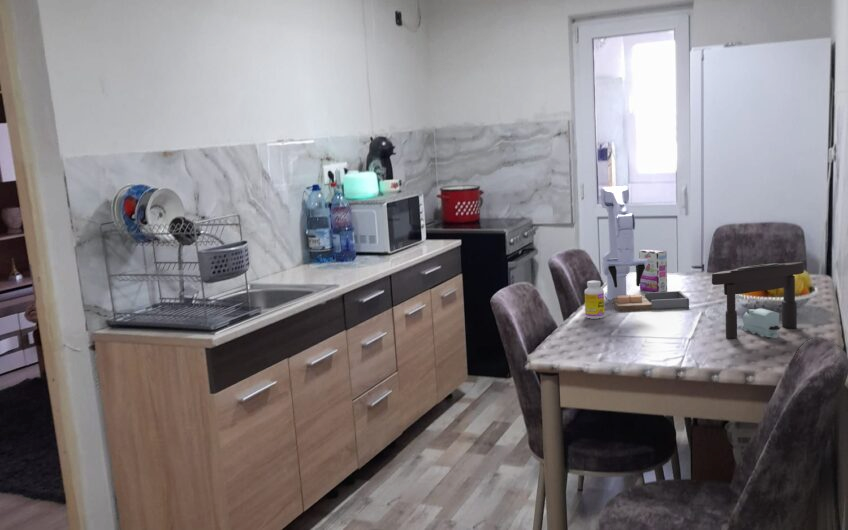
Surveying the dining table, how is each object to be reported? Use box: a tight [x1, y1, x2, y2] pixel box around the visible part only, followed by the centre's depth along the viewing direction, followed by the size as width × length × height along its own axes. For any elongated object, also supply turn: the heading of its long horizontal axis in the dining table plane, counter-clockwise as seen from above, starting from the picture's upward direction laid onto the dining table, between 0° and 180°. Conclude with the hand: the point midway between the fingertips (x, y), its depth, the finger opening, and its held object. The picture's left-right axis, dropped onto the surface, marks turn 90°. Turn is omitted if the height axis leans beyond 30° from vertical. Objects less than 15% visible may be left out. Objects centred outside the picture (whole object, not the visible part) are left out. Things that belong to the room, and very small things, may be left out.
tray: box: [644, 290, 690, 311], centre depth 284 cm, size 14×13×4 cm
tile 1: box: [617, 294, 630, 303], centre depth 285 cm, size 4×4×2 cm
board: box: [611, 296, 653, 312], centre depth 285 cm, size 14×12×2 cm
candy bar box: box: [638, 248, 668, 293], centre depth 309 cm, size 11×5×16 cm, turn 25°
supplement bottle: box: [584, 280, 605, 320], centre depth 272 cm, size 7×7×13 cm
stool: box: [711, 261, 805, 340], centre depth 237 cm, size 16×21×33 cm
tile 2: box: [628, 294, 643, 302], centre depth 285 cm, size 4×4×2 cm
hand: (626, 286), depth 273 cm, fingers open, 7 cm apart
